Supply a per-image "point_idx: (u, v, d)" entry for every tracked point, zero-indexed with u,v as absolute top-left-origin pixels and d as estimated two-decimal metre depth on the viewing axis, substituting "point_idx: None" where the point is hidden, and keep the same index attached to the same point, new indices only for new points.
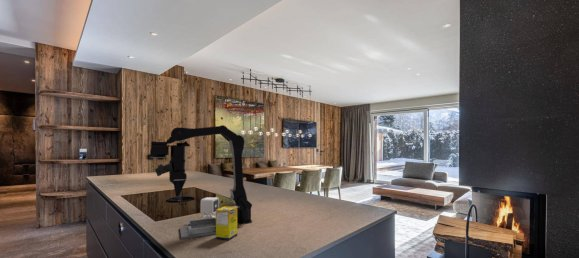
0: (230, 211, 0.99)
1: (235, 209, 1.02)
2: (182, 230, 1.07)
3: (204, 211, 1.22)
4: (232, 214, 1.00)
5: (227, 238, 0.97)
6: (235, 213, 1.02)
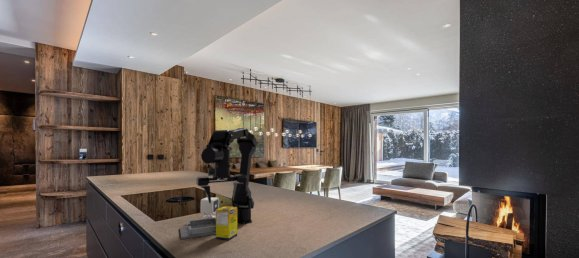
0: (230, 211, 0.99)
1: (235, 209, 1.02)
2: (182, 230, 1.07)
3: (204, 211, 1.22)
4: (232, 214, 1.00)
5: (227, 238, 0.97)
6: (235, 213, 1.02)
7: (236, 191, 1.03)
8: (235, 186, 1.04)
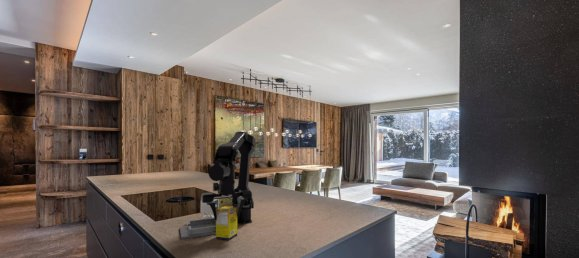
0: (230, 211, 0.99)
1: (235, 209, 1.02)
2: (182, 230, 1.07)
3: (204, 211, 1.22)
4: (232, 214, 1.00)
5: (227, 238, 0.97)
6: (235, 213, 1.02)
7: (240, 207, 1.02)
8: (239, 202, 1.03)
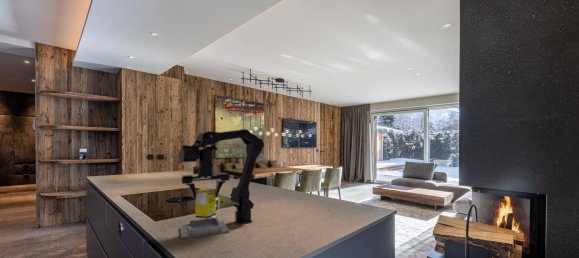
0: (208, 192, 1.07)
1: (213, 190, 1.10)
2: (182, 230, 1.07)
3: None
4: (210, 195, 1.08)
5: (205, 216, 1.06)
6: (213, 194, 1.10)
7: (218, 189, 1.10)
8: (217, 184, 1.11)
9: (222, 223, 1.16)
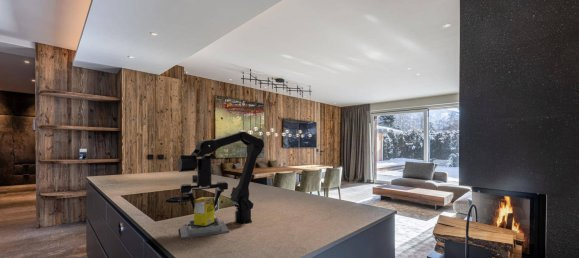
0: (207, 201, 1.07)
1: (212, 199, 1.11)
2: (182, 230, 1.07)
3: None
4: (209, 204, 1.08)
5: (204, 226, 1.06)
6: (212, 203, 1.10)
7: (216, 198, 1.10)
8: (216, 193, 1.11)
9: (222, 223, 1.16)
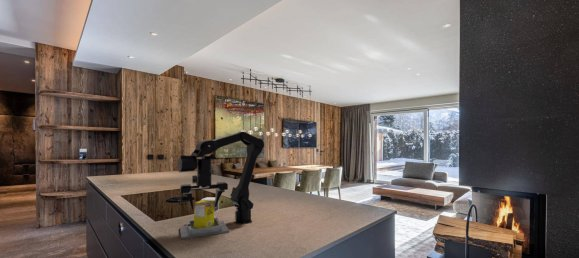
0: (207, 204, 1.07)
1: (212, 202, 1.11)
2: (182, 230, 1.07)
3: None
4: (209, 207, 1.08)
5: None
6: (212, 206, 1.10)
7: (217, 198, 1.11)
8: (216, 193, 1.11)
9: (222, 223, 1.16)
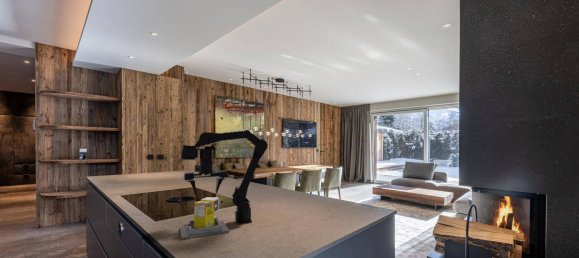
0: (207, 204, 1.07)
1: (212, 202, 1.11)
2: (182, 230, 1.07)
3: None
4: (209, 207, 1.08)
5: None
6: (212, 206, 1.10)
7: (218, 185, 1.20)
8: (217, 181, 1.21)
9: (222, 223, 1.16)
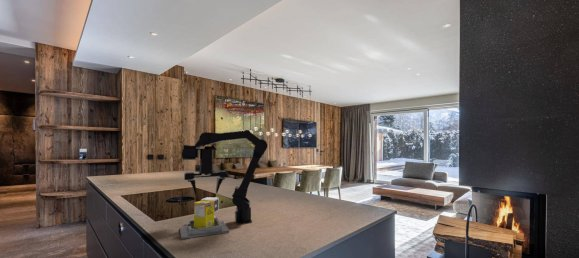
0: (207, 204, 1.07)
1: (212, 202, 1.11)
2: (182, 230, 1.07)
3: None
4: (209, 207, 1.08)
5: None
6: (212, 206, 1.10)
7: (218, 185, 1.20)
8: (217, 181, 1.21)
9: (222, 223, 1.16)
